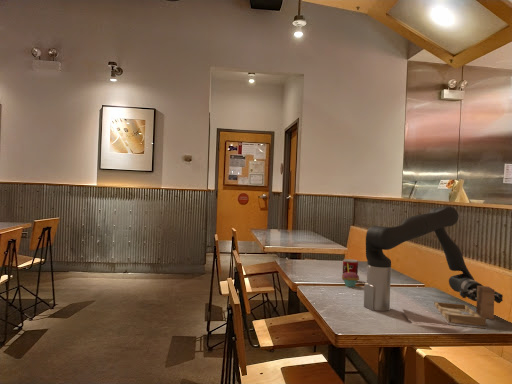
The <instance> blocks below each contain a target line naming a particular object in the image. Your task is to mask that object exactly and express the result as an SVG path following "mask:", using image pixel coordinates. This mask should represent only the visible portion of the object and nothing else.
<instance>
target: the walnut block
mask: <svg viewBox="0 0 512 384" xmlns="http://www.w3.org/2000/svg"><path fill="white" fill-rule="evenodd" d="M495 291H496V290H495V289H494V288H492V287H490V286H487V285H486V286H485V285H483V286H477V301H476V311H475V313H476V314H478V315H479V316H480V317H483V318H486V319H492V320H494V318H495V313H494V312H495V301H494V292H495Z"/></svg>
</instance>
